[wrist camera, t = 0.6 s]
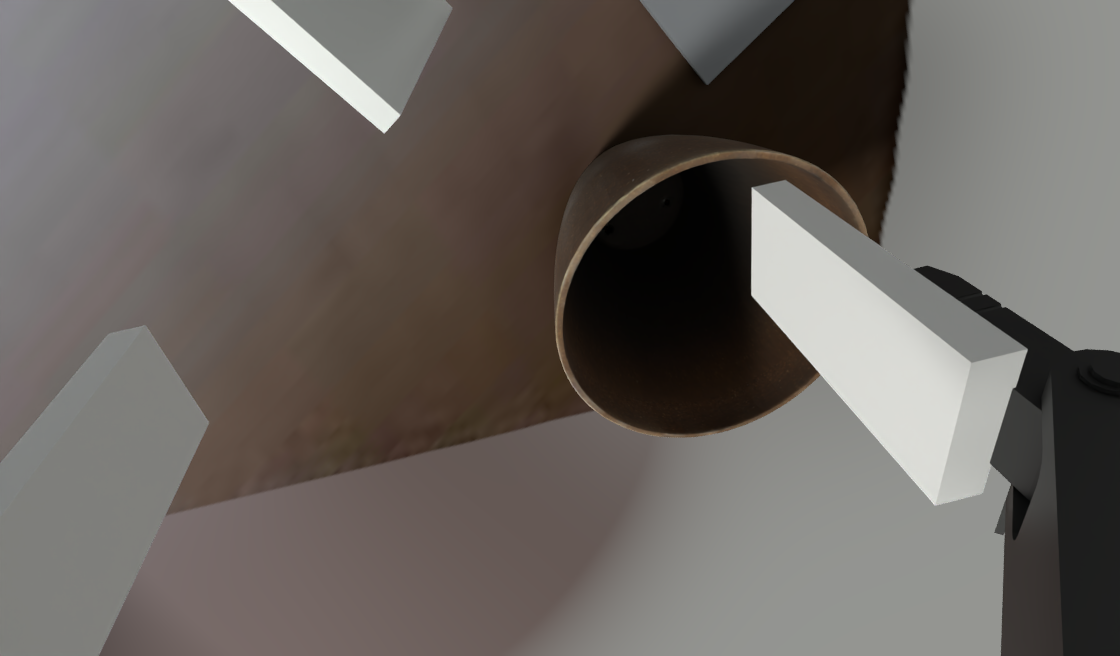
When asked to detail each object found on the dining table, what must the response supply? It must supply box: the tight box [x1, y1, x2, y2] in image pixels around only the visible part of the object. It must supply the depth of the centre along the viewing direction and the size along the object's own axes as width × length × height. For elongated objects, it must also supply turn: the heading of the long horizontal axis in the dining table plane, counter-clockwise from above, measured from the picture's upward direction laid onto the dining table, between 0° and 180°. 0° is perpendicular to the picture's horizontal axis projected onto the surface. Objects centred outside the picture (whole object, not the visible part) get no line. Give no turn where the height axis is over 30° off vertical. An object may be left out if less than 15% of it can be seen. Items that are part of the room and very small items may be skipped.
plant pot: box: [554, 135, 868, 437], centre depth 35 cm, size 15×15×16 cm
